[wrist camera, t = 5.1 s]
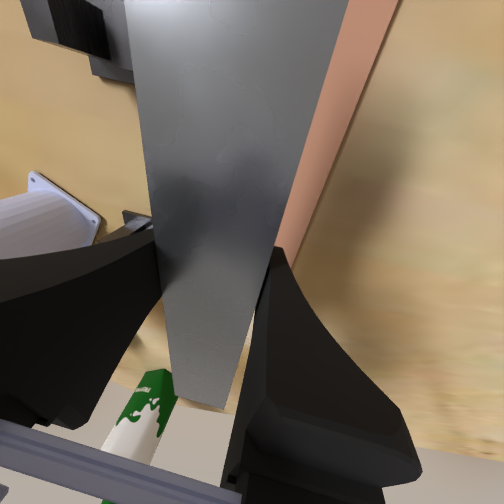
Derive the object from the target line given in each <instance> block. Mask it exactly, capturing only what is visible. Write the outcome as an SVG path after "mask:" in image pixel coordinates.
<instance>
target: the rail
mask: <svg viewBox="0 0 504 504" xmlns="http://www.w3.org/2000/svg"><path fill="white" fill-rule="evenodd" d="M348 2H349V0H124V4H125V12H126V19H127V27H128V35H129V43H130V51H131V58H132V66H133V74H134V82H135V89H136V97H137V105H138V113H139V121H140V128H141V136H142V144H143V152H144V159H145V167H146V175H147V183H148V190H149V198H150V206H151V214H152V222H153V229H154V237H155V245H156V253H157V260H158V268H159V276H160V284H161V291H162V299H163V307H164V315H165V323H166V330H167V338H168V346H169V354H170V361H171V369H172V377H173V385H174V393H175V395H176V396H179V397H182V398H186V399H189V400H193V401H196V402H199V403H203V404H206V405H209V406H213V407H216V408H220V409H223V410H224V408H225V405H226V401H227V398H228V395H229V391H230V388H231V385H232V382H233V378H234V375H235V372H236V369H237V365H238V362H239V359H240V355H241V352H242V349H243V346H244V342H245V339H246V336H247V333H248V329H249V326H250V323H251V320H252V316H253V313H254V310H255V306H256V303H257V300H258V297H259V293H260V290H261V287H262V284H263V280H264V277H265V274H266V270H267V267H268V264H269V261H270V257H271V254H272V251H273V248H274V244H275V241H276V238H277V234H278V231H279V228H280V225H281V221H282V218H283V215H284V212H285V208H286V205H287V202H288V199H289V195H290V192H291V189H292V185H293V182H294V179H295V176H296V172H297V169H298V166H299V163H300V159H301V156H302V153H303V149H304V146H305V143H306V140H307V136H308V133H309V130H310V127H311V123H312V120H313V117H314V113H315V110H316V107H317V104H318V100H319V97H320V94H321V91H322V87H323V84H324V81H325V78H326V74H327V71H328V68H329V64H330V61H331V58H332V55H333V51H334V48H335V45H336V42H337V38H338V35H339V32H340V28H341V25H342V22H343V19H344V15H345V12H346V9H347V6H348Z"/></svg>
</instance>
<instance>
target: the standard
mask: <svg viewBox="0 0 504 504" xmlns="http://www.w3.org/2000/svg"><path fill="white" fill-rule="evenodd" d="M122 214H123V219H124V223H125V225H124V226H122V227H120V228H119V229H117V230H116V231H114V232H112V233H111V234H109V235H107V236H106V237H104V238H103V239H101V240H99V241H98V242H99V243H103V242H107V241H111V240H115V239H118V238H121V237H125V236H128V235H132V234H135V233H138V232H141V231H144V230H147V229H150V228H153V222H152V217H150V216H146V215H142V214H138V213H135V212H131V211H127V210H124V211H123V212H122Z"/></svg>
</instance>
